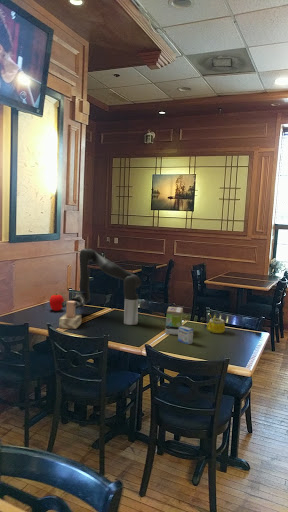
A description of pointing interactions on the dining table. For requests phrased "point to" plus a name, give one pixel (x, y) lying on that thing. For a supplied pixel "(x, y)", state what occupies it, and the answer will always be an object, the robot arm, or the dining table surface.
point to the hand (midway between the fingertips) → (70, 306)
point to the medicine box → (185, 335)
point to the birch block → (70, 321)
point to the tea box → (173, 320)
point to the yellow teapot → (216, 325)
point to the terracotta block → (70, 309)
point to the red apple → (56, 302)
